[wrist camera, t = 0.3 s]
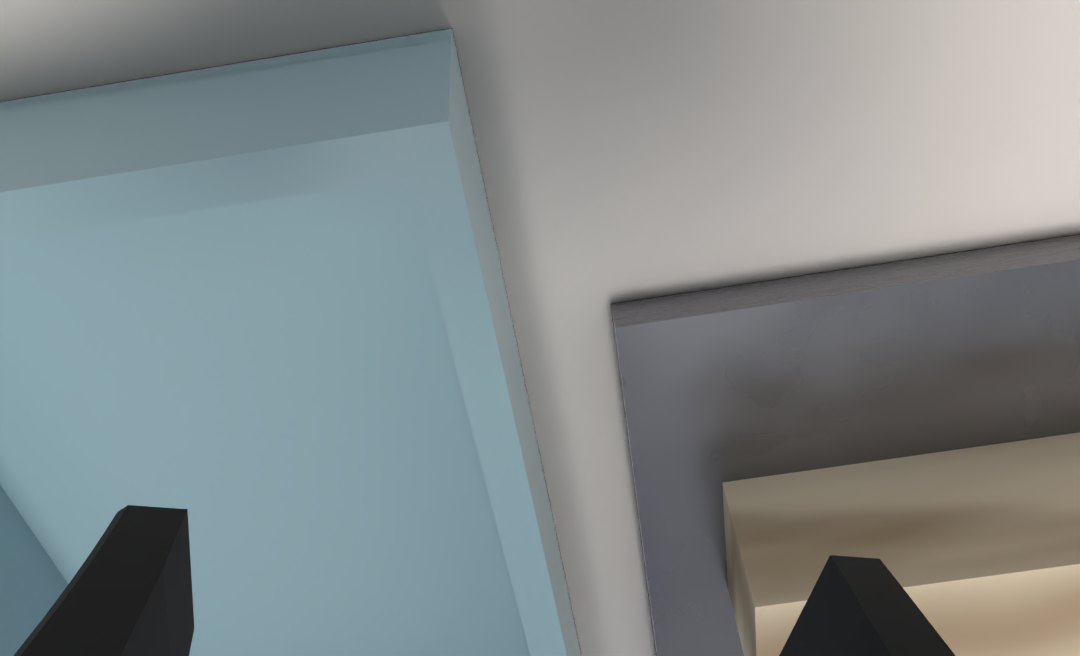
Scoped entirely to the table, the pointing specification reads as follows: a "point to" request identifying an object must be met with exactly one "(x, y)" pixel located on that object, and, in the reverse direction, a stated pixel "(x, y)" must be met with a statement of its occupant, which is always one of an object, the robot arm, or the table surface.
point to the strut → (921, 543)
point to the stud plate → (830, 393)
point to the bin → (274, 357)
